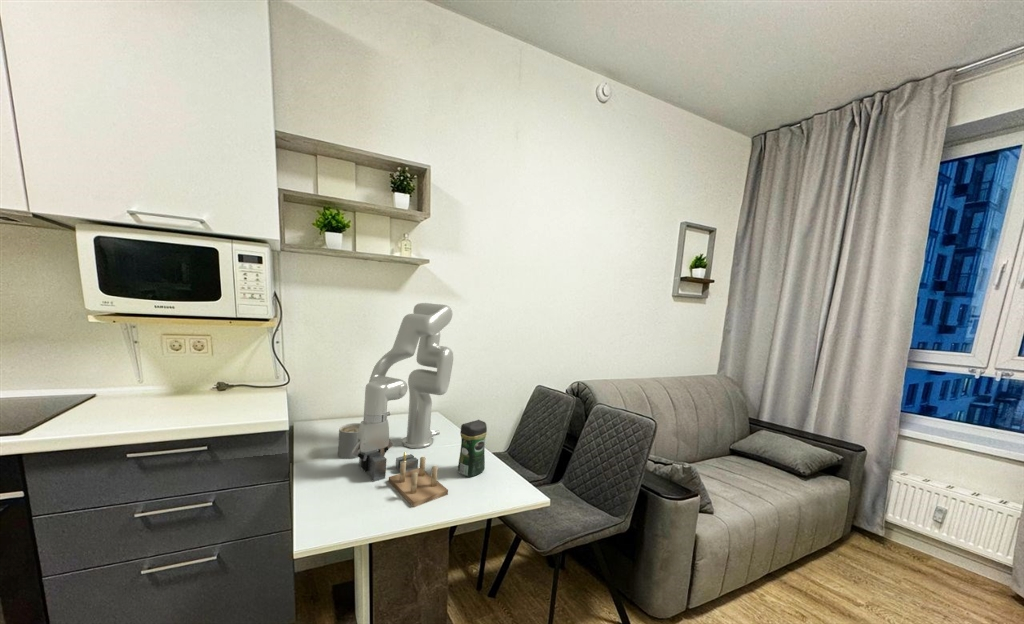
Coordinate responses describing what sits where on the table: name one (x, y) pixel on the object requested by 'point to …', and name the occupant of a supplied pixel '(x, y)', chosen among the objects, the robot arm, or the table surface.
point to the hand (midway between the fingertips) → (371, 467)
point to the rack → (418, 484)
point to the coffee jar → (472, 448)
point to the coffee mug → (348, 440)
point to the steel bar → (375, 465)
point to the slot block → (407, 462)
